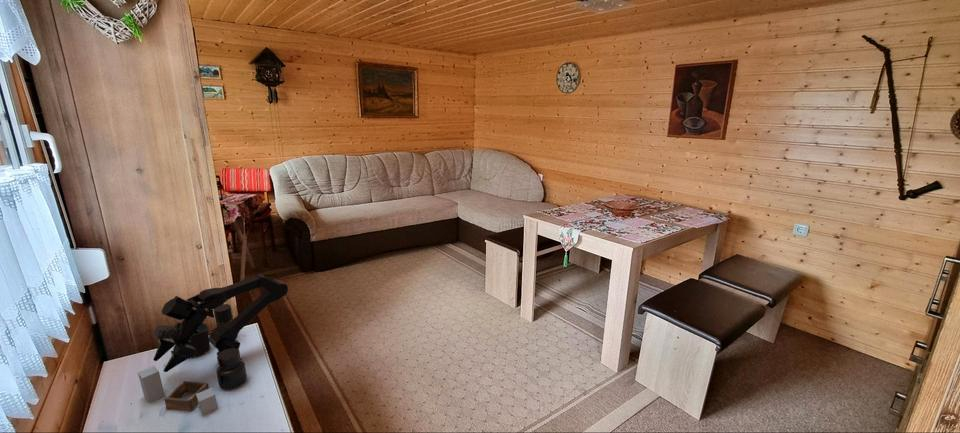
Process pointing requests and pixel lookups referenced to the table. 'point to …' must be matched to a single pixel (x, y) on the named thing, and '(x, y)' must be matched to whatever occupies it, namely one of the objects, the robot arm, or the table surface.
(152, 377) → the light grey rectangular block
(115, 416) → the table surface
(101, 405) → the table surface
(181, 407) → the walnut collar
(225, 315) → the deodorant
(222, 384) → the ink bottle
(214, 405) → the grey block
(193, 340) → the pen holder
